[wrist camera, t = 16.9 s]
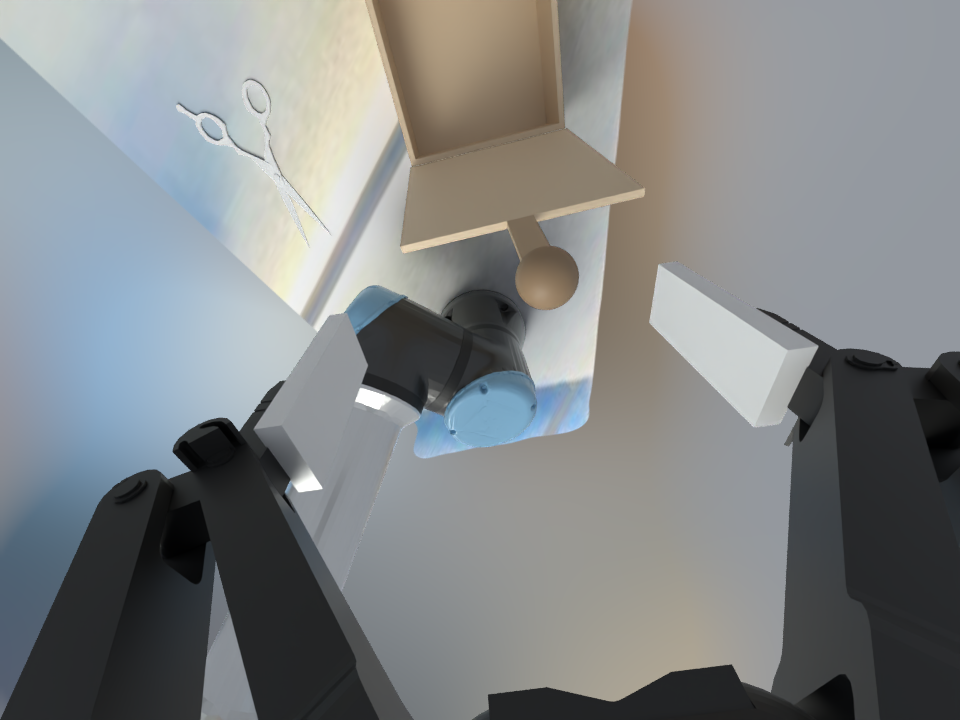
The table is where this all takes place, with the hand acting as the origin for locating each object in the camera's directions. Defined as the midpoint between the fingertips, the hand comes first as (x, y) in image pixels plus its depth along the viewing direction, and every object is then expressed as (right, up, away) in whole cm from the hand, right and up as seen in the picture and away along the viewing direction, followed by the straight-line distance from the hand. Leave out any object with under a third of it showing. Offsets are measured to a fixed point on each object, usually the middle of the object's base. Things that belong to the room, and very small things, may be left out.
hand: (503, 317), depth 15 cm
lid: (+1, +13, +13) cm, 19 cm away
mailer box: (-3, +35, +25) cm, 43 cm away
